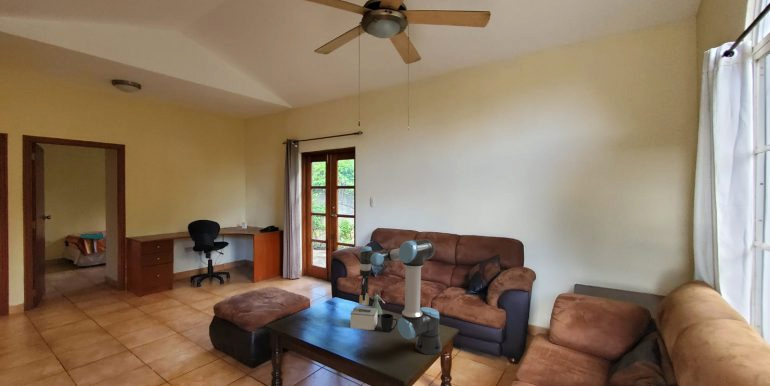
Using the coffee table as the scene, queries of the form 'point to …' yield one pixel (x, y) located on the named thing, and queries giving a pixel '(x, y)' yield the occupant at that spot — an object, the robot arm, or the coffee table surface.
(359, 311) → the box
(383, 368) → the coffee table surface
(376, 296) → the character figurine
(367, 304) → the tall tan block
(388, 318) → the mug
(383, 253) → the robot arm
